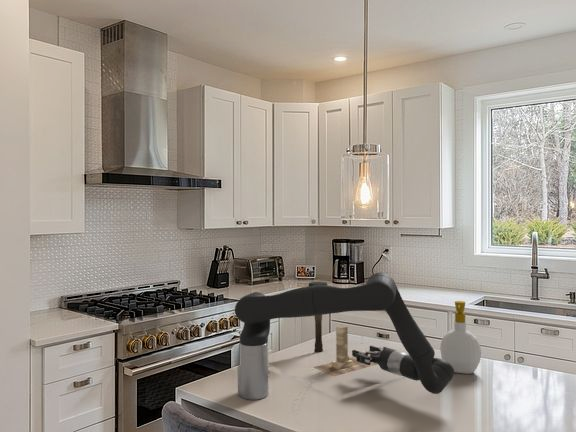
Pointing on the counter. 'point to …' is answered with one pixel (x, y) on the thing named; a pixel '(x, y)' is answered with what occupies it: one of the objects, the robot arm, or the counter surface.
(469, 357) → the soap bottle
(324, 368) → the board
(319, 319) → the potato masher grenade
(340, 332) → the tan upright block
